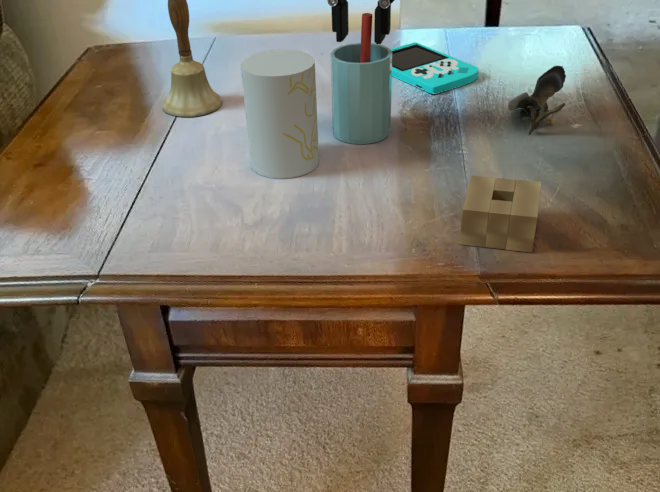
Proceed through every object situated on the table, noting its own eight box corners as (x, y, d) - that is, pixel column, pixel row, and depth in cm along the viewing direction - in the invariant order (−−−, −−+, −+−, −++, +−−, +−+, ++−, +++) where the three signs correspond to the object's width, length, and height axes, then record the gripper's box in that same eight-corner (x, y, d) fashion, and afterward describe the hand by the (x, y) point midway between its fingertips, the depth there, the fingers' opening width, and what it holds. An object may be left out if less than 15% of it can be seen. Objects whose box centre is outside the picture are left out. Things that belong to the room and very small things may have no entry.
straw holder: (536, 216, 79) (541, 182, 77) (532, 253, 74) (537, 217, 71) (468, 209, 81) (471, 175, 78) (459, 244, 76) (462, 209, 73)
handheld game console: (431, 96, 105) (432, 86, 104) (362, 63, 116) (362, 54, 115) (486, 78, 109) (486, 69, 108) (414, 49, 120) (415, 40, 119)
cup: (304, 182, 87) (298, 79, 79) (239, 173, 89) (228, 72, 82) (328, 151, 93) (325, 52, 85) (267, 143, 95) (258, 47, 88)
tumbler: (395, 122, 99) (397, 44, 92) (383, 146, 93) (384, 65, 87) (341, 118, 100) (339, 41, 94) (326, 141, 95) (323, 61, 89)
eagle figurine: (579, 129, 92) (577, 87, 98) (554, 84, 88) (553, 43, 94) (520, 154, 96) (522, 113, 102) (494, 112, 93) (497, 72, 98)
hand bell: (229, 110, 104) (214, -13, 94) (169, 121, 102) (148, -4, 92) (214, 89, 110) (199, -29, 100) (157, 99, 108) (136, -20, 98)
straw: (367, 126, 97) (373, 13, 88) (365, 130, 96) (371, 16, 87) (358, 125, 97) (363, 12, 88) (356, 129, 96) (360, 15, 87)
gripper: (271, -135, 77) (283, 46, 89) (436, -136, 73) (426, 54, 85) (293, -147, 83) (302, 26, 94) (447, -148, 79) (437, 32, 90)
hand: (361, 37), depth 89 cm, fingers open, 3 cm apart
